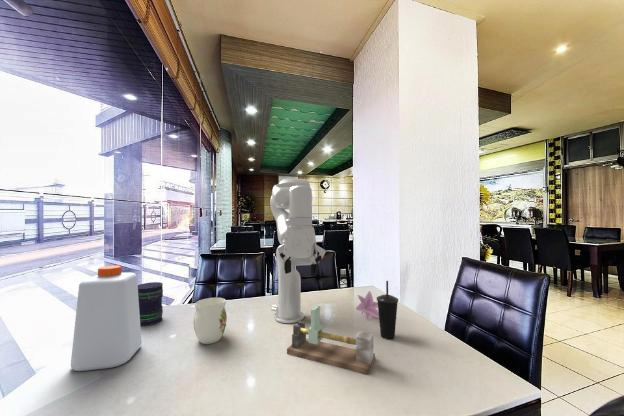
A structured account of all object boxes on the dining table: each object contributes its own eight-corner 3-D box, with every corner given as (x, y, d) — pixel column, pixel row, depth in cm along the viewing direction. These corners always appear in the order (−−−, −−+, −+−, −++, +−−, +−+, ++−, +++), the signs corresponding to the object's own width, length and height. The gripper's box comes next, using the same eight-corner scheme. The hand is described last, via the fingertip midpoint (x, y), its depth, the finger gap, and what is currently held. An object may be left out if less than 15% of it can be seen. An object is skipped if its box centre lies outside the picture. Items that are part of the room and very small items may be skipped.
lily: (351, 322, 110) (359, 305, 107) (349, 303, 121) (356, 287, 118) (378, 330, 111) (387, 314, 107) (373, 310, 122) (382, 294, 118)
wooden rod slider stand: (286, 353, 84) (286, 326, 84) (300, 341, 92) (300, 316, 92) (368, 374, 73) (367, 343, 73) (375, 358, 81) (374, 330, 81)
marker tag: (308, 342, 83) (308, 309, 84) (314, 336, 87) (314, 304, 88) (317, 344, 82) (317, 310, 82) (322, 338, 86) (322, 306, 86)
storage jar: (129, 324, 107) (129, 287, 107) (151, 315, 116) (152, 281, 116) (145, 328, 103) (146, 289, 104) (168, 318, 112) (168, 283, 113)
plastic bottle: (145, 343, 91) (146, 261, 92) (124, 368, 76) (125, 270, 77) (95, 348, 88) (96, 263, 88) (62, 375, 73) (64, 273, 74)
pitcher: (232, 326, 104) (232, 291, 104) (220, 350, 86) (220, 307, 86) (203, 327, 103) (204, 292, 103) (185, 351, 85) (185, 308, 86)
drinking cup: (400, 342, 91) (399, 284, 91) (377, 340, 92) (376, 283, 93) (397, 332, 98) (396, 278, 99) (376, 331, 100) (375, 277, 100)
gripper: (272, 222, 88) (272, 274, 88) (320, 223, 81) (320, 279, 81) (284, 222, 95) (284, 269, 95) (328, 222, 88) (329, 274, 88)
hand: (300, 274), depth 88 cm, fingers open, 9 cm apart
